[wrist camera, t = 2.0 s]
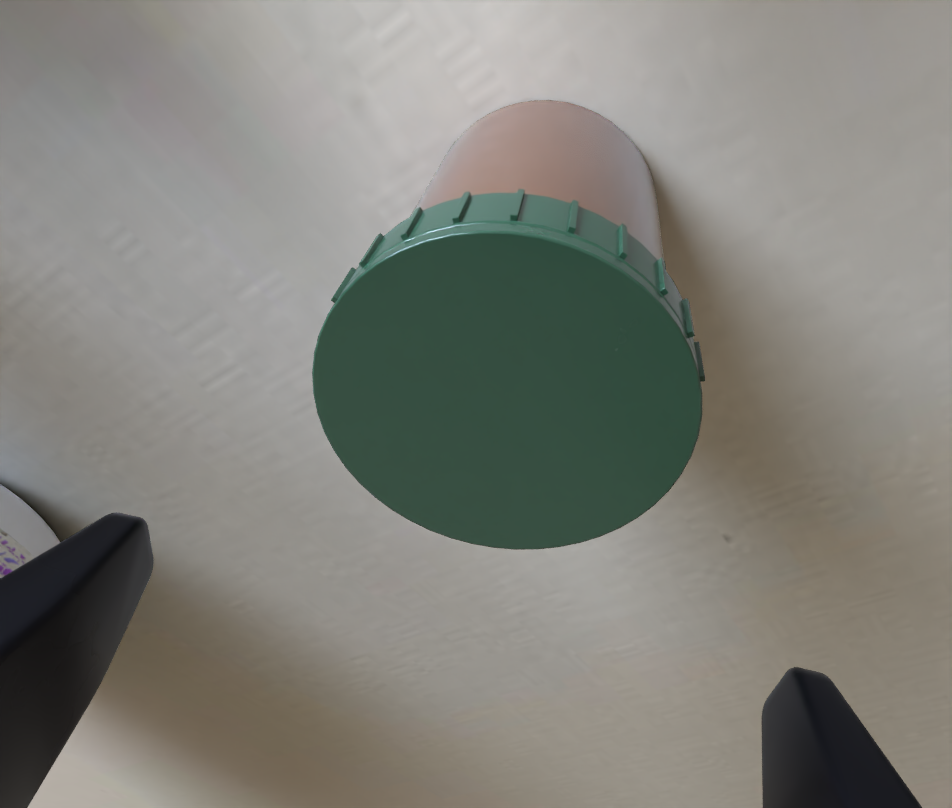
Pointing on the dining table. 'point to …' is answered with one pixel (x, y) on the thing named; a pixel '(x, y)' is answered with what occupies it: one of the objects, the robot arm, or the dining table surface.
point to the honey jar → (553, 165)
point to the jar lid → (510, 372)
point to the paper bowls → (21, 533)
